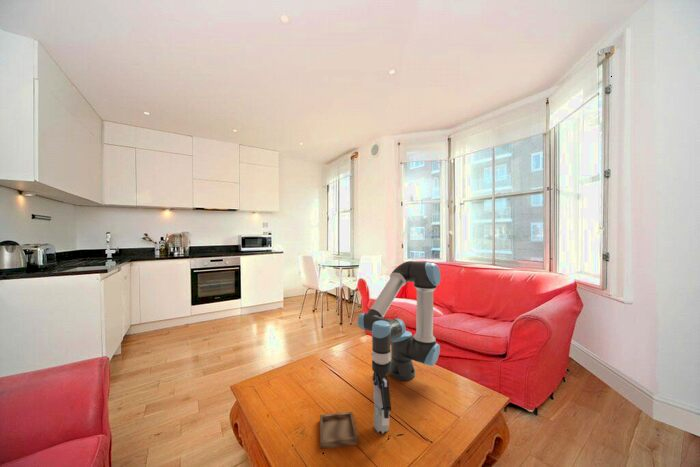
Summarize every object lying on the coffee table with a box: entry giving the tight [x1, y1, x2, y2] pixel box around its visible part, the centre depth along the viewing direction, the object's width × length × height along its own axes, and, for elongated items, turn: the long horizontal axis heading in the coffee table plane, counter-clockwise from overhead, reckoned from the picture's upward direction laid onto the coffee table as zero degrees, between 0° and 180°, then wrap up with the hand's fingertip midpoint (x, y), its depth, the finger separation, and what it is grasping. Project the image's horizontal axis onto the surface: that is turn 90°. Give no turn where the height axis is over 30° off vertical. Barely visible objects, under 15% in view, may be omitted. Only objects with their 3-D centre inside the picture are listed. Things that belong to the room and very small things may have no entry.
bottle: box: [372, 381, 390, 434], centre depth 101 cm, size 7×7×20 cm
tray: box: [319, 411, 358, 450], centre depth 100 cm, size 14×14×2 cm
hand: (381, 412), depth 101 cm, fingers open, 13 cm apart
